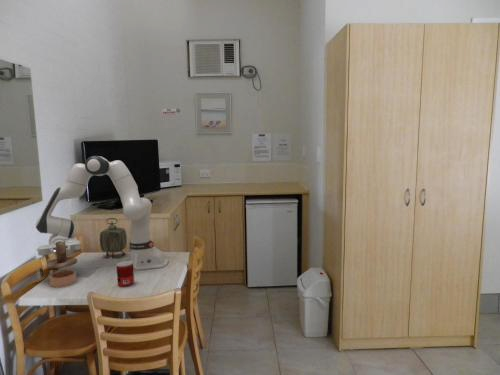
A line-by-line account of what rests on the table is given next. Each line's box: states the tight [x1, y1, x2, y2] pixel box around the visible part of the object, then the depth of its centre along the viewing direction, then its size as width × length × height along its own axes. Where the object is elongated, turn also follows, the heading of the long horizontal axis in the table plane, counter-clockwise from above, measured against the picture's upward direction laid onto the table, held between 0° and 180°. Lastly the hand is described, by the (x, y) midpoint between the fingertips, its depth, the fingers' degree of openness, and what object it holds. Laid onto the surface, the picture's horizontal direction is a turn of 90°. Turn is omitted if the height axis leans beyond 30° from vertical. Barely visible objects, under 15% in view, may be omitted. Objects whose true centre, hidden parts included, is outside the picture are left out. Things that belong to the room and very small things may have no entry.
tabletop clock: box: [99, 217, 128, 258], centre depth 228 cm, size 14×9×25 cm, turn 91°
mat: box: [69, 266, 100, 278], centre depth 201 cm, size 16×16×1 cm
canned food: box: [116, 260, 135, 288], centre depth 182 cm, size 8×8×11 cm
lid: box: [46, 242, 78, 269], centre depth 184 cm, size 14×14×11 cm
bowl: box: [48, 269, 78, 288], centre depth 185 cm, size 12×12×5 cm
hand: (61, 251), depth 183 cm, fingers closed on lid, 4 cm apart
